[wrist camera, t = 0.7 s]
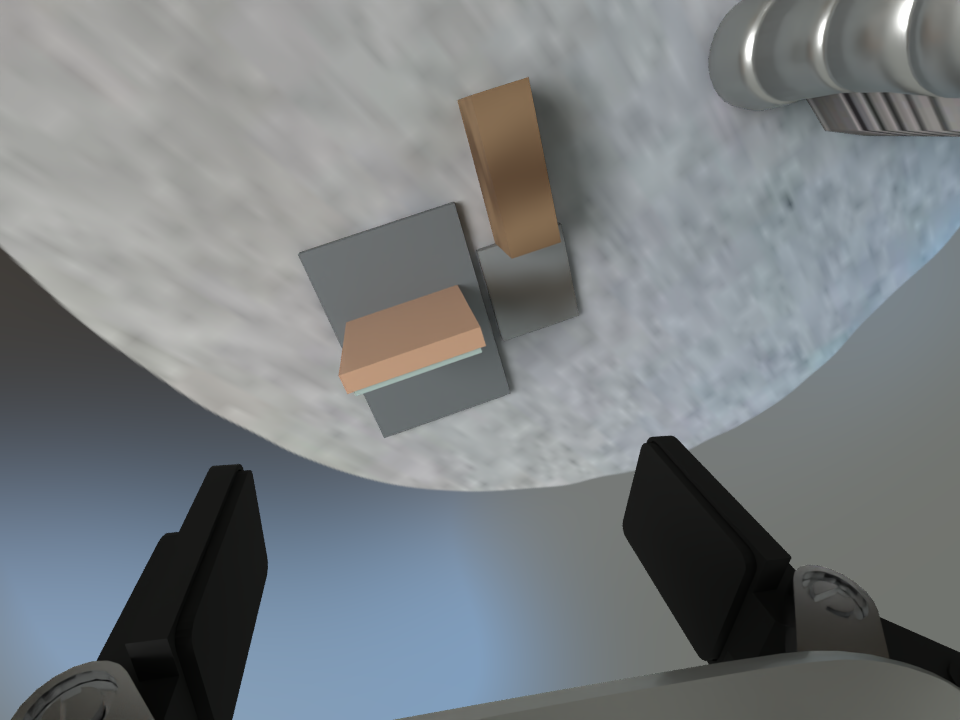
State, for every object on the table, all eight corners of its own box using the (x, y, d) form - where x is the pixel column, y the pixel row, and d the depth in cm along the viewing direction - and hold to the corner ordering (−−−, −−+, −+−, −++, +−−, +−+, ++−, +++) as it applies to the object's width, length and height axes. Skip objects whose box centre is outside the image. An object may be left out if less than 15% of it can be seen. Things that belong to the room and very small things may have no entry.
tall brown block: (435, 107, 29) (445, 103, 25) (529, 77, 29) (553, 69, 25) (501, 337, 36) (517, 363, 32) (575, 312, 37) (600, 334, 33)
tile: (457, 284, 33) (480, 326, 26) (463, 305, 34) (487, 351, 27) (346, 322, 33) (338, 375, 26) (355, 342, 33) (350, 399, 26)
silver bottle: (710, -15, 29) (1244, -244, 11) (803, 4, 30) (1405, -172, 13) (681, 105, 32) (1075, 75, 14) (768, 117, 33) (1225, 103, 15)
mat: (453, 201, 31) (454, 203, 31) (508, 389, 38) (510, 393, 38) (299, 252, 31) (298, 254, 30) (384, 433, 38) (384, 438, 37)
